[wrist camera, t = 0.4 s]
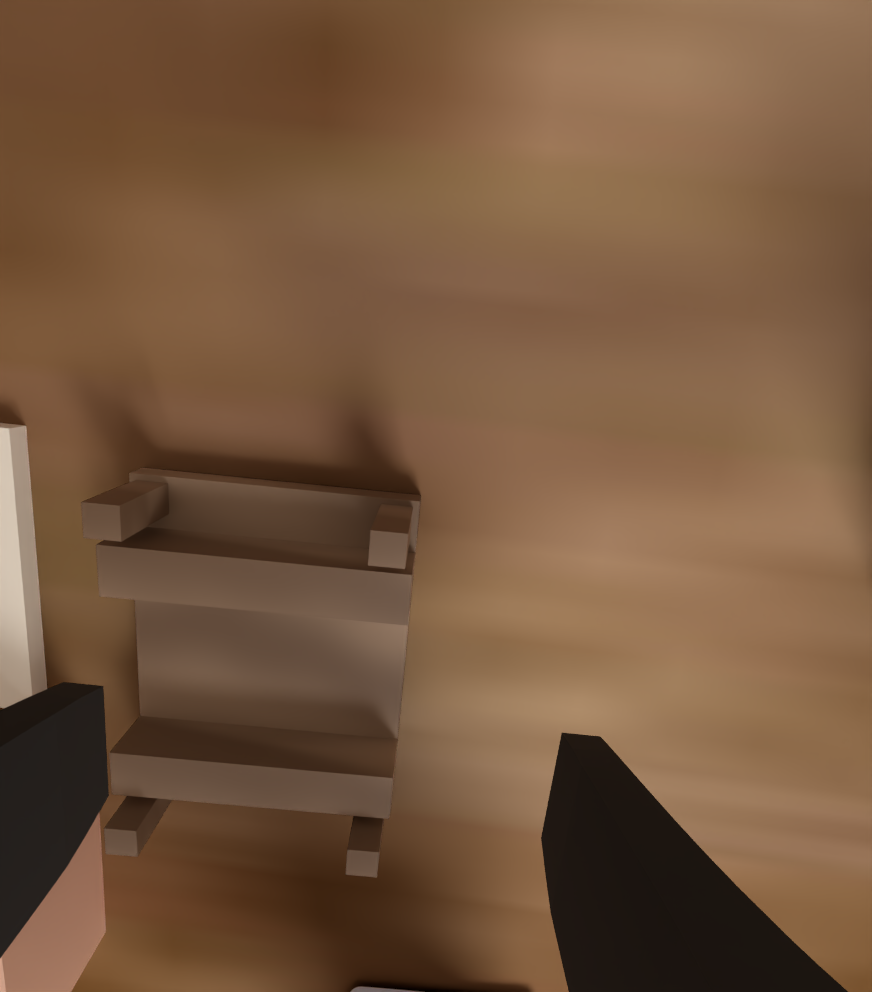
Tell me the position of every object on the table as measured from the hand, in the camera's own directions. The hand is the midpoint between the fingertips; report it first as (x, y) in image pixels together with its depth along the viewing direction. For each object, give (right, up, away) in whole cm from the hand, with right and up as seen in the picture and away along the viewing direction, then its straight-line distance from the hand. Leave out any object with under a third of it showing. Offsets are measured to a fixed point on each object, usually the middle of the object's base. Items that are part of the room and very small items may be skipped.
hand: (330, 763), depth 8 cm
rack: (-4, -1, +10) cm, 11 cm away
